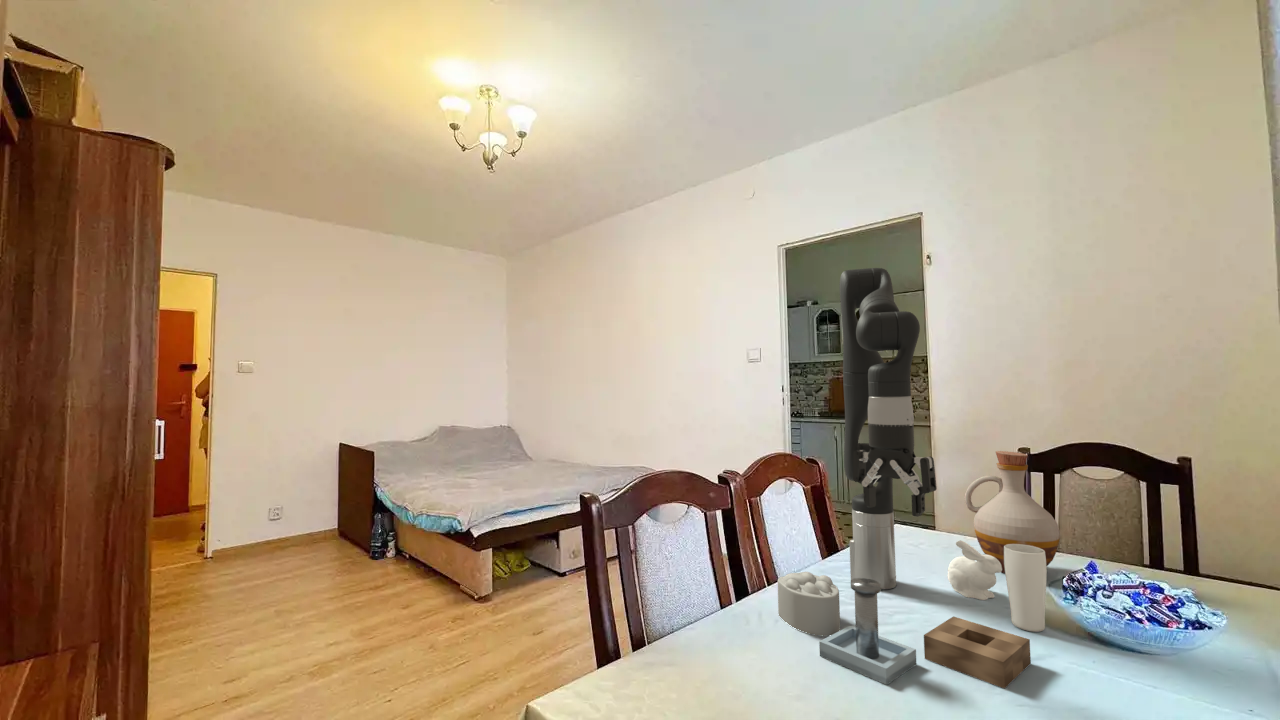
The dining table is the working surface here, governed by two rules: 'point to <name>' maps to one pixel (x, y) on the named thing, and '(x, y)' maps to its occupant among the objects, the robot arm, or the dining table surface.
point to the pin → (866, 616)
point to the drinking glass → (1026, 585)
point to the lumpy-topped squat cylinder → (809, 603)
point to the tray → (882, 669)
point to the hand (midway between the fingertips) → (893, 511)
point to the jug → (1012, 513)
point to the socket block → (978, 651)
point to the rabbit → (973, 573)
